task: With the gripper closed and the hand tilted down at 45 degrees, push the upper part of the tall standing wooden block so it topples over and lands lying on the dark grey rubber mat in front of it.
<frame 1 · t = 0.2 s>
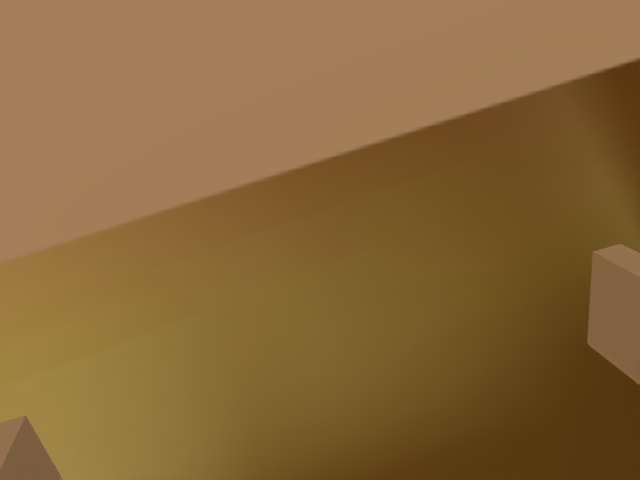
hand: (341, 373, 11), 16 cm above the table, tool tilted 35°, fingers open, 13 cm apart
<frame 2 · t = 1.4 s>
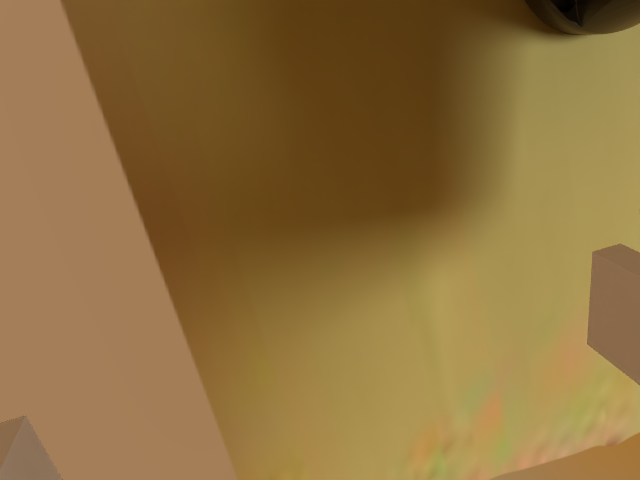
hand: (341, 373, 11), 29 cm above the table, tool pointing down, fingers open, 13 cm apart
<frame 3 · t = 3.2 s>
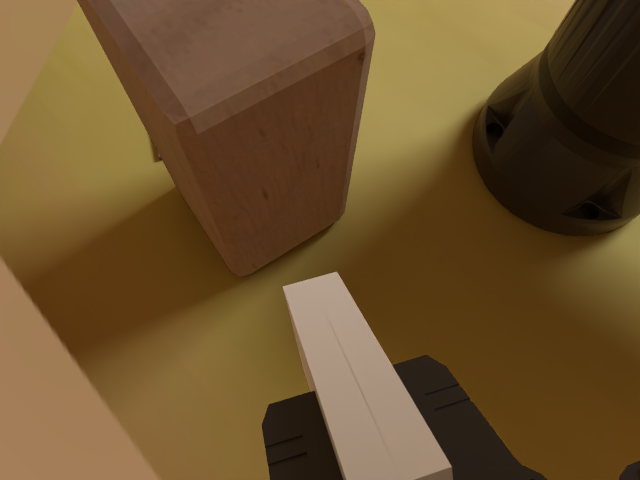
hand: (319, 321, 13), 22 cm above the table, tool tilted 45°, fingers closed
wooden block: (261, 203, 39), on the table
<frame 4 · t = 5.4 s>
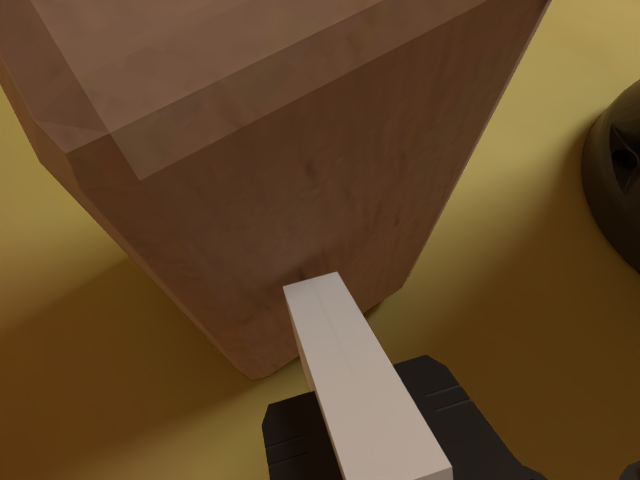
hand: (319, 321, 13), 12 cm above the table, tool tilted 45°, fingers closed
wooden block: (284, 260, 27), on the table, touching gripper
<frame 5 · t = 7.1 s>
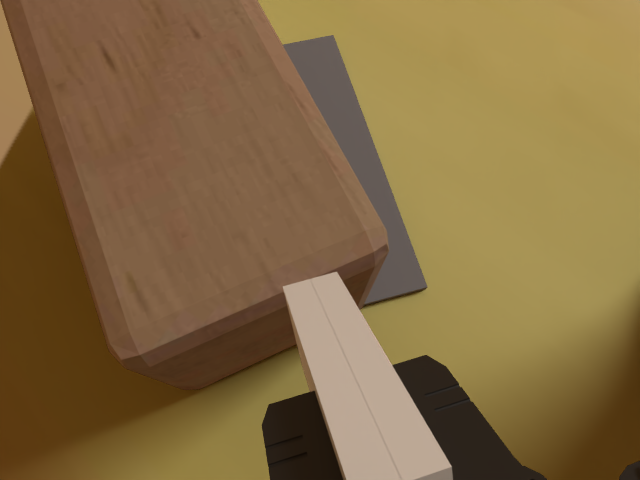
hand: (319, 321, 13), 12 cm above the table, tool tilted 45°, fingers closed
wooden block: (276, 341, 20), point 5 cm above the table, touching mat
mat: (261, 176, 28), on the table
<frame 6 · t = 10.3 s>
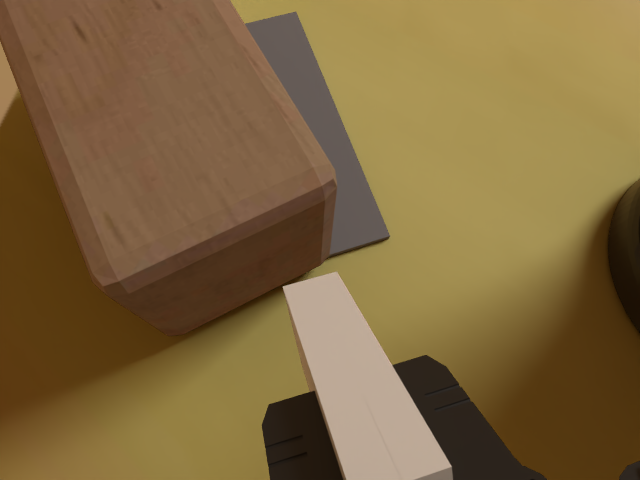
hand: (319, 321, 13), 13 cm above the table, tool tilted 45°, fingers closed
wooden block: (246, 280, 22), point 5 cm above the table, touching mat
mat: (233, 144, 31), on the table
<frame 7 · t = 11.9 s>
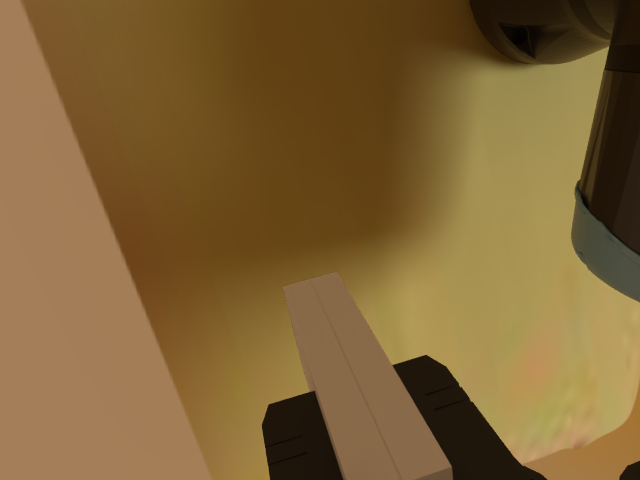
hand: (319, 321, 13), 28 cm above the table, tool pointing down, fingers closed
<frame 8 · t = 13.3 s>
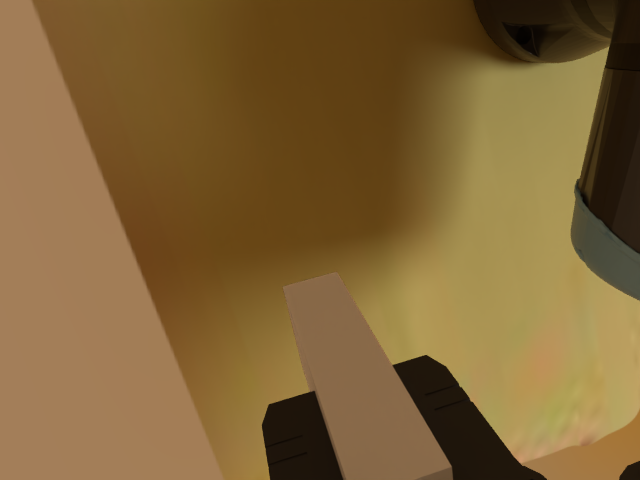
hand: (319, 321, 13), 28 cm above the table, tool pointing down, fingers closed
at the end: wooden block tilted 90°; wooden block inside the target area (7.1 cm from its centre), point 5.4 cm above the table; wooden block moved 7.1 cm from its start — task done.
